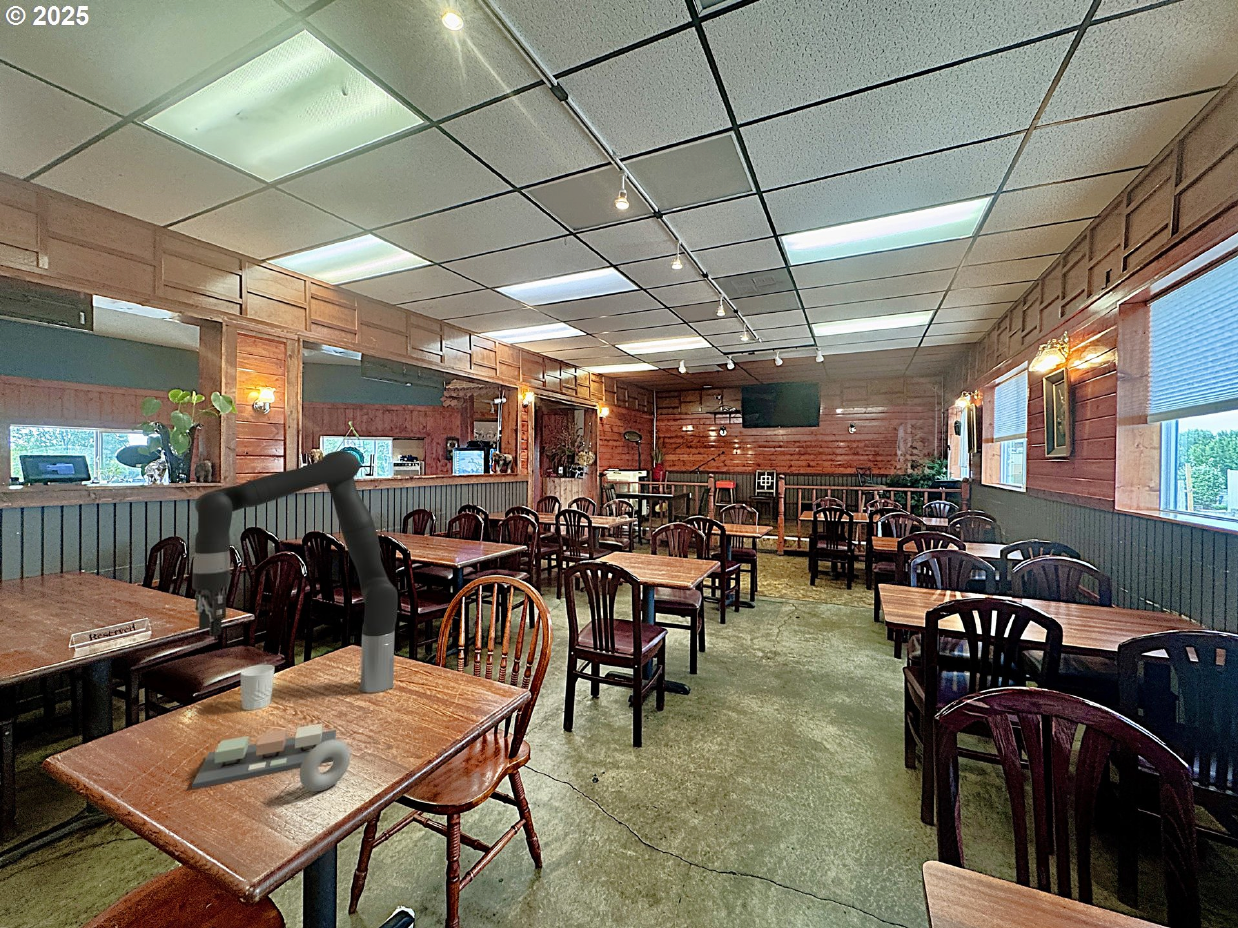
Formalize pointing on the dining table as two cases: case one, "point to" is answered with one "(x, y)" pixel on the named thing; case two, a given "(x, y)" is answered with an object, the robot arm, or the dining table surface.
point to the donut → (316, 756)
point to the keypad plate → (255, 764)
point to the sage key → (231, 750)
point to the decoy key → (271, 743)
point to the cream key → (308, 736)
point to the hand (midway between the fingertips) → (209, 631)
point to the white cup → (256, 686)
